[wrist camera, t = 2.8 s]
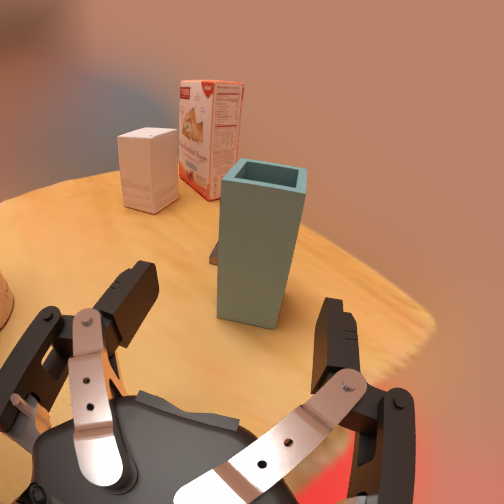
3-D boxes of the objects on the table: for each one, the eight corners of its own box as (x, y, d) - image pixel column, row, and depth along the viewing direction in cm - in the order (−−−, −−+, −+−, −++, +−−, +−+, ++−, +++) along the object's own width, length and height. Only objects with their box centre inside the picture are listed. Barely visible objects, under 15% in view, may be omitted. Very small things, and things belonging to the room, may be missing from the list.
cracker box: (177, 177, 56) (179, 80, 43) (202, 173, 59) (207, 79, 47) (206, 202, 47) (212, 79, 35) (235, 196, 50) (246, 81, 38)
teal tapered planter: (275, 329, 26) (306, 193, 18) (216, 317, 27) (221, 179, 18) (282, 290, 31) (307, 169, 23) (231, 280, 31) (240, 158, 23)
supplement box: (179, 198, 47) (179, 128, 40) (154, 215, 42) (150, 137, 34) (148, 190, 49) (146, 126, 42) (122, 206, 43) (115, 135, 36)
